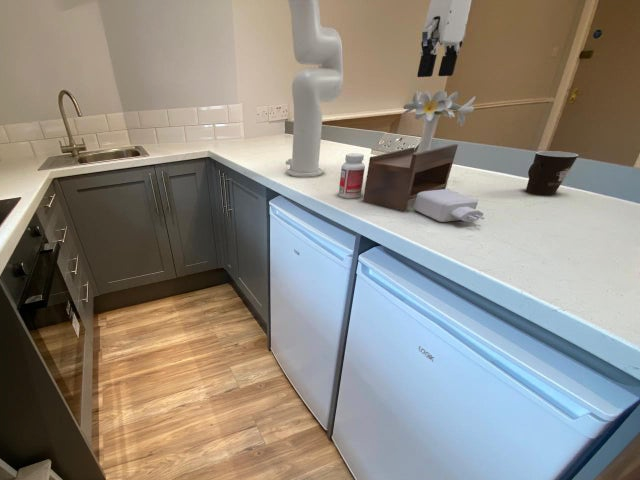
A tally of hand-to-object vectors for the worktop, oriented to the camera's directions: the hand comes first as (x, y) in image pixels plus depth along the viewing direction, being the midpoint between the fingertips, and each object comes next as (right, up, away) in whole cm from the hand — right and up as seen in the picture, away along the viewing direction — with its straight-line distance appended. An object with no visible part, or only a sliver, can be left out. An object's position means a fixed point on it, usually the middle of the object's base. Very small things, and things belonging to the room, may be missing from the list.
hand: (435, 76), depth 78 cm
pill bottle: (-14, -22, +19) cm, 32 cm away
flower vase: (+12, -14, +30) cm, 35 cm away
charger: (+4, -33, +1) cm, 33 cm away
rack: (0, -24, +15) cm, 28 cm away
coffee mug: (+36, -22, +15) cm, 45 cm away
